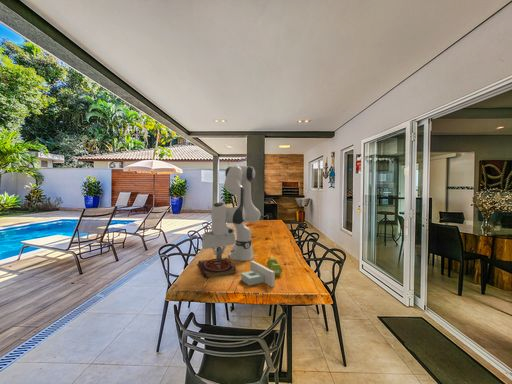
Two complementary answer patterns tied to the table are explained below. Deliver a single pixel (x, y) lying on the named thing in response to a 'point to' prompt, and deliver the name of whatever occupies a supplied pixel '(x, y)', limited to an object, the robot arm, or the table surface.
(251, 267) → the wall
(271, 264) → the dumbbell
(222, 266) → the book
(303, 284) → the table surface
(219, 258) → the dowel
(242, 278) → the sliding block
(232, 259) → the robot arm
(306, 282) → the table surface
